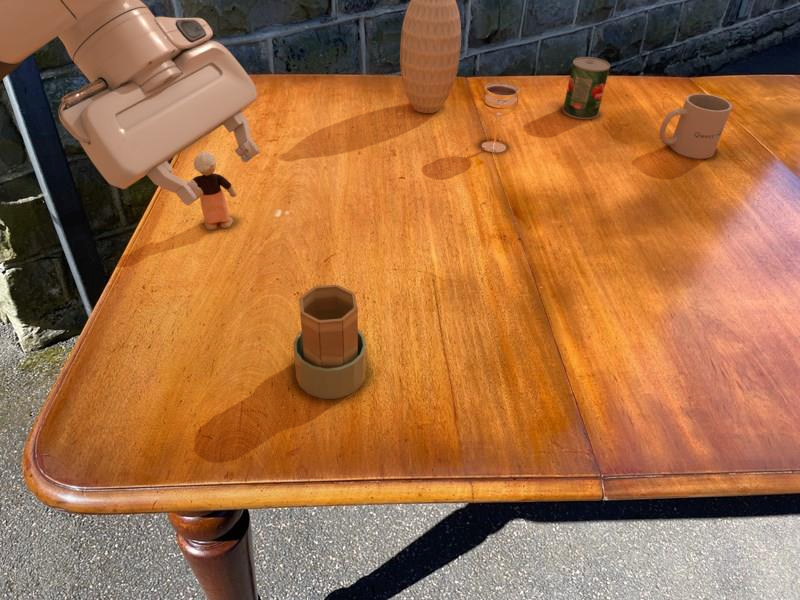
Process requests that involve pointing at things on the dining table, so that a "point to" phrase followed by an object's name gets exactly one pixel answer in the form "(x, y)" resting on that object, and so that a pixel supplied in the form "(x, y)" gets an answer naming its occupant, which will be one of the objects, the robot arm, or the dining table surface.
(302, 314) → the octagonal wooden container
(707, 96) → the mug
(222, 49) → the robot arm
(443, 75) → the vase
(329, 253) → the dining table surface
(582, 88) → the canned tomato
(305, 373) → the gray bowl
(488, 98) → the wineglass
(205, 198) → the grandmother figurine
